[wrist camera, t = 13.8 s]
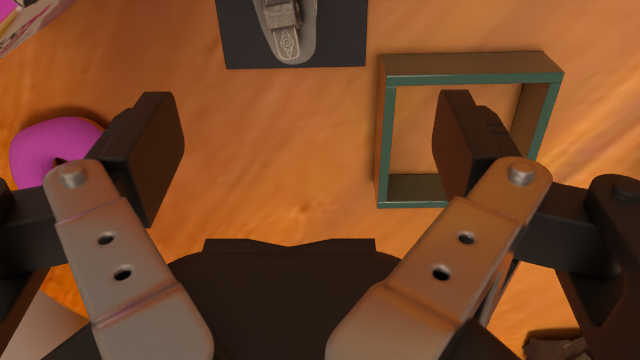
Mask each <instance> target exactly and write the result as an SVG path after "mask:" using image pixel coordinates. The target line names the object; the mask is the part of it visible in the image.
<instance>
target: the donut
mask: <svg viewBox="0 0 640 360" xmlns="http://www.w3.org/2000/svg"><path fill="white" fill-rule="evenodd" d="M104 130H105V129H104V128H102V127H101V126H100V125H98V124H97V123H96V122H94V121H92V120H89V119H87V118H83V117H59V118H54V119H51V120H47V121H43V122H40V123H38V124H35V125H32V126H30V127H28V128H25V129H23V130H22V131H20V132H19V133H18V134H17V135H16V136H15V137H14V138H13V140H12V142H11V145H10V148H9V163H10V168H11V172H12V176H13V179H14V181H15V183H16V185H17V187H18V188H19V190H20V189H26V188H31V187H36V186H40V185H42V181H43V179H44V177H45V175H46V174H47V173H48V172H49V171H51V170H52V169H53V168H55V167H57V166H58V165H57V162H56V158H62V159H65V160H67V161H72V160H77V159H83V158H84V157H85V155H86V154H87V153H88V151H89V150H90V149H91V147H92V146H93V145H94V143H95V142H96V141H97V139H98V138H99V137H101V134H102V133H103V131H104Z"/></svg>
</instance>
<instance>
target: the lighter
mask: <svg viewBox="0 0 640 360" xmlns="http://www.w3.org/2000/svg"><path fill="white" fill-rule="evenodd" d="M253 4H254V7H255V10H256V13H257V16H258V19H259V22H260V25H261V28H262V30H263V32H264V35H265V37H266V39H267V41H268V43H269V45H270V48H271V50H272V52H273V54H274V55H275V56H276V58H277V59H278V60H280V61H281V62H283V63H286V64H290V65H291V64H300V63H303V62H305V61H307V60H308V59H310V58H311V56H312V55H313V53H314V51H315V47H316V13H317V0H253Z"/></svg>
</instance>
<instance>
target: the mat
mask: <svg viewBox="0 0 640 360" xmlns="http://www.w3.org/2000/svg"><path fill="white" fill-rule="evenodd" d="M215 3H216V9H217V15H218V21H219V27H220V33H221V39H222V45H223V51H224V57H225V64H226V69H264V68H309V67H355V66H365V59H366V33H367V7H368V0H317V13H316V47H315V51H314V53H313V55H312V56H311V58H310V59H308V60H307V61H305V62H303V63H300V64H291V65H290V64H286V63H283V62H281V61H280V60H278V59H277V58H276V56H275V55H274V54H273V52H272V50H271V48H270V45H269V43H268V41H267V39H266V37H265V35H264V32H263V30H262V28H261V25H260V22H259V19H258V16H257V13H256V10H255V7H254V4H253V0H215Z"/></svg>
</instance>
